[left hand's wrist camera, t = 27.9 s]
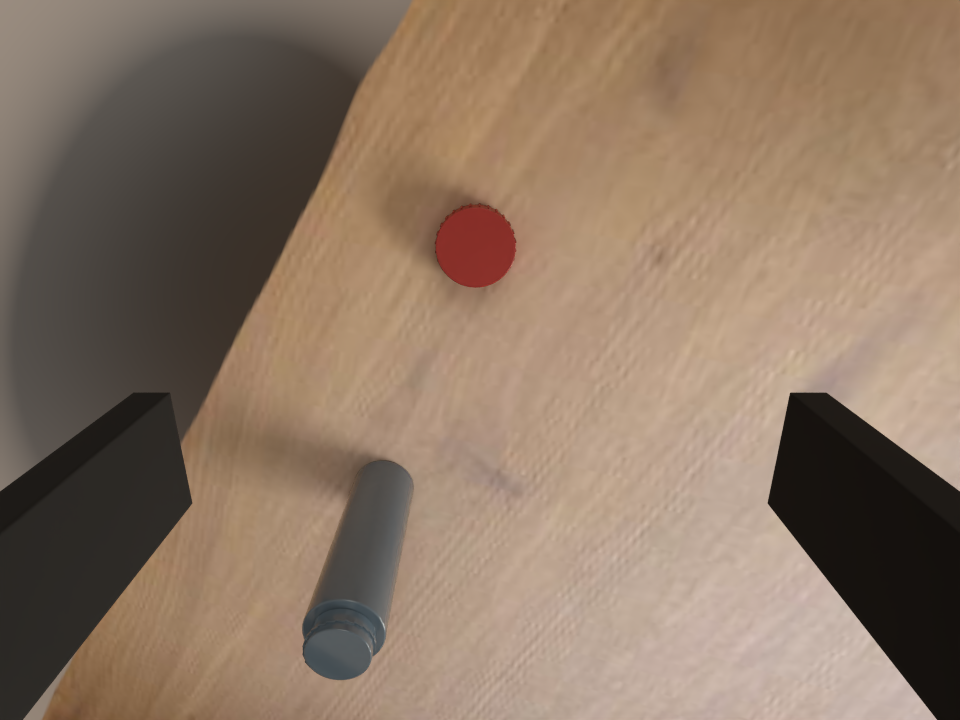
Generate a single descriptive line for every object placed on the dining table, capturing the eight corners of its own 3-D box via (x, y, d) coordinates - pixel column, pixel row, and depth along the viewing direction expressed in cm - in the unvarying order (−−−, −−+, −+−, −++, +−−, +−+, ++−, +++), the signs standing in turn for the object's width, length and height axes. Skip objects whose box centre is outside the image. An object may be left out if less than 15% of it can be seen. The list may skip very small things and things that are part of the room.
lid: (447, 290, 38) (446, 296, 36) (427, 214, 36) (424, 217, 35) (522, 272, 38) (524, 277, 36) (505, 194, 36) (506, 197, 34)
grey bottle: (396, 451, 42) (354, 610, 28) (423, 498, 44) (396, 671, 29) (343, 473, 43) (277, 638, 29) (372, 518, 44) (321, 698, 30)
